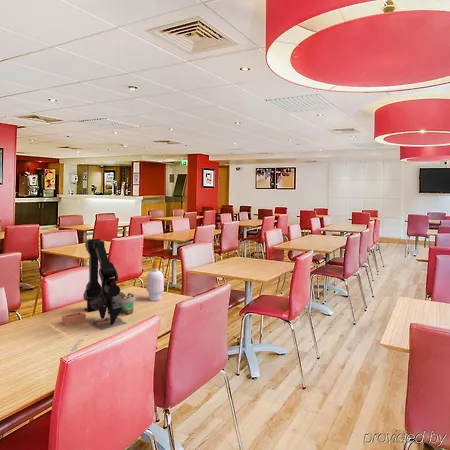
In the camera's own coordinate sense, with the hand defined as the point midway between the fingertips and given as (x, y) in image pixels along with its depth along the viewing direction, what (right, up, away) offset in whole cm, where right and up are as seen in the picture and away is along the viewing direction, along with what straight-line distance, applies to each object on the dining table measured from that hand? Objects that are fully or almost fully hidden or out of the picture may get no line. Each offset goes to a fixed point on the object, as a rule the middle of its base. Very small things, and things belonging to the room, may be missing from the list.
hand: (107, 322), depth 197 cm
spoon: (-5, -4, -27) cm, 27 cm away
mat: (0, -1, 0) cm, 1 cm away
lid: (0, 0, 0) cm, 0 cm away
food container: (+7, 0, +16) cm, 17 cm away
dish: (-16, -1, -1) cm, 16 cm away
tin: (-4, +2, +30) cm, 31 cm away
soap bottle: (+16, +3, +45) cm, 47 cm away
